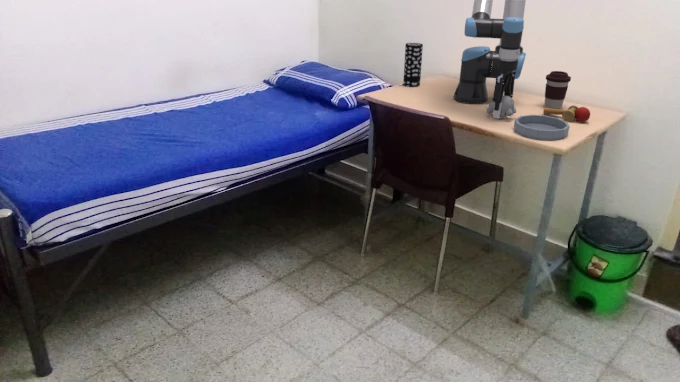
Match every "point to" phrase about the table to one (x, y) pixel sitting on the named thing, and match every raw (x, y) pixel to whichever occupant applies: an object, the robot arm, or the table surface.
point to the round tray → (541, 127)
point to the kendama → (570, 113)
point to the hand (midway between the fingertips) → (500, 115)
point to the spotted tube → (412, 64)
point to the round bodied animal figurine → (503, 107)
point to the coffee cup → (556, 89)
